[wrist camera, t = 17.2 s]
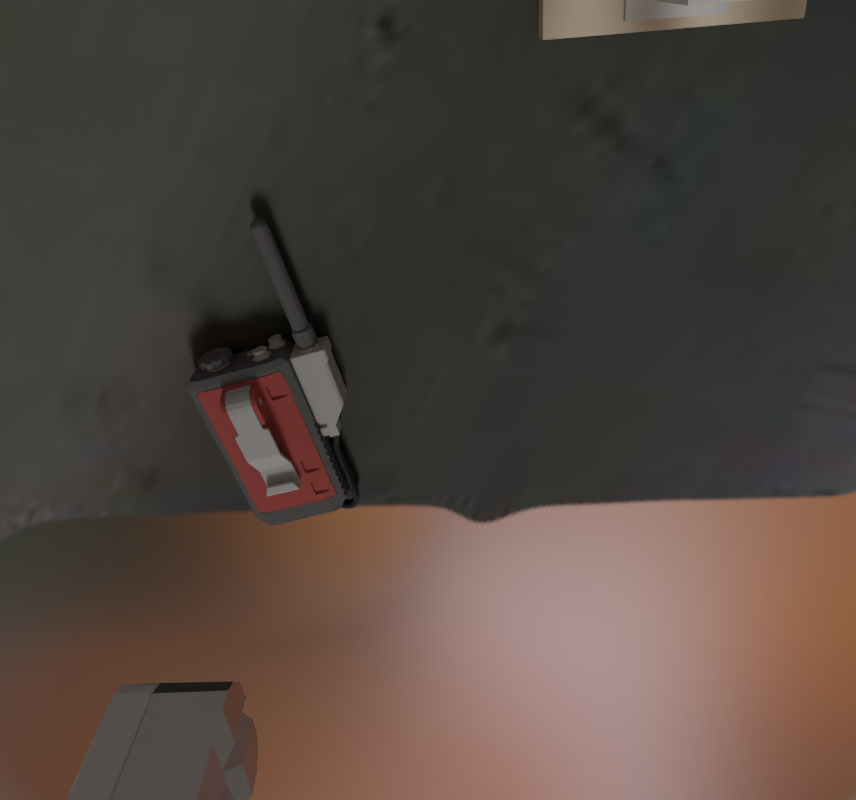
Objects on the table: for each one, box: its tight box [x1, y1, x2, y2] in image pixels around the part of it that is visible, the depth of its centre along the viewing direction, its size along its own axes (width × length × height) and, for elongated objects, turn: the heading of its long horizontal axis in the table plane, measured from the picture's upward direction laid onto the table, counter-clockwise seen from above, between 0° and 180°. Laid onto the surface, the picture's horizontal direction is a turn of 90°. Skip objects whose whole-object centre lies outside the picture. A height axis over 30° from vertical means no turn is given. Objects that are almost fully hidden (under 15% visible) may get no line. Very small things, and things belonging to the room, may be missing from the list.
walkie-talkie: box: [187, 218, 359, 525], centre depth 44 cm, size 9×4×20 cm
